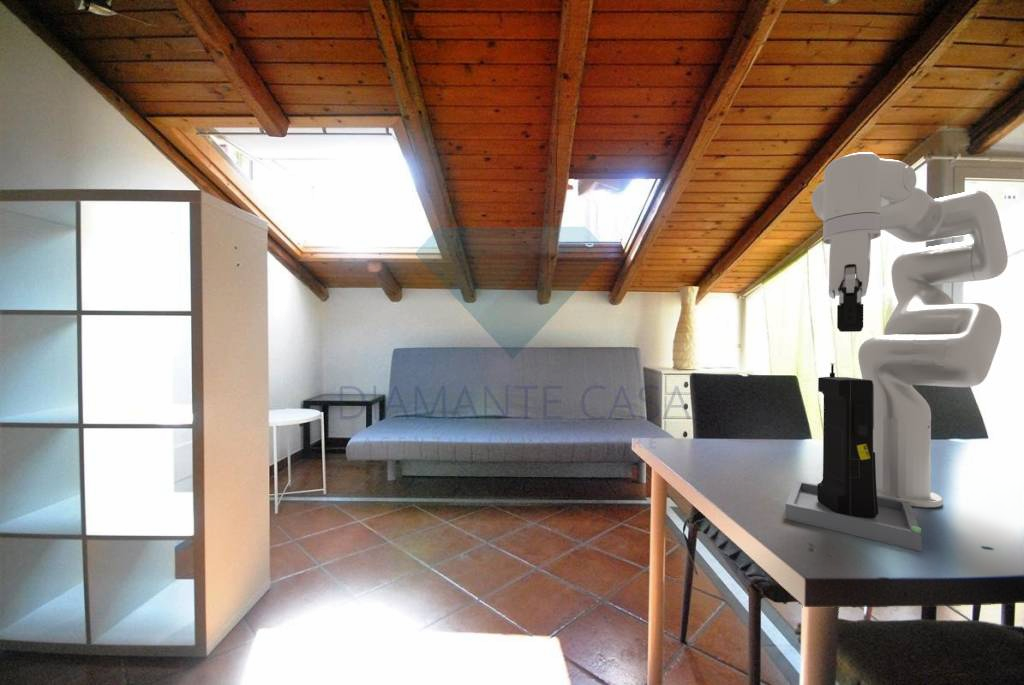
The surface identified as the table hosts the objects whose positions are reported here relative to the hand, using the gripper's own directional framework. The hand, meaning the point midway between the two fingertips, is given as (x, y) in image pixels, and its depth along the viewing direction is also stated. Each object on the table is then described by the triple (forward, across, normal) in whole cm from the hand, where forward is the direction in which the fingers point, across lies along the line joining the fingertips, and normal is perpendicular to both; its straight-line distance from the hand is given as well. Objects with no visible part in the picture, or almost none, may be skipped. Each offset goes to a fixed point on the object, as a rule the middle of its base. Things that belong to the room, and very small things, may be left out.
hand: (850, 330), depth 68 cm
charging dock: (+32, 0, 0) cm, 32 cm away
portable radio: (+31, 0, 0) cm, 31 cm away
